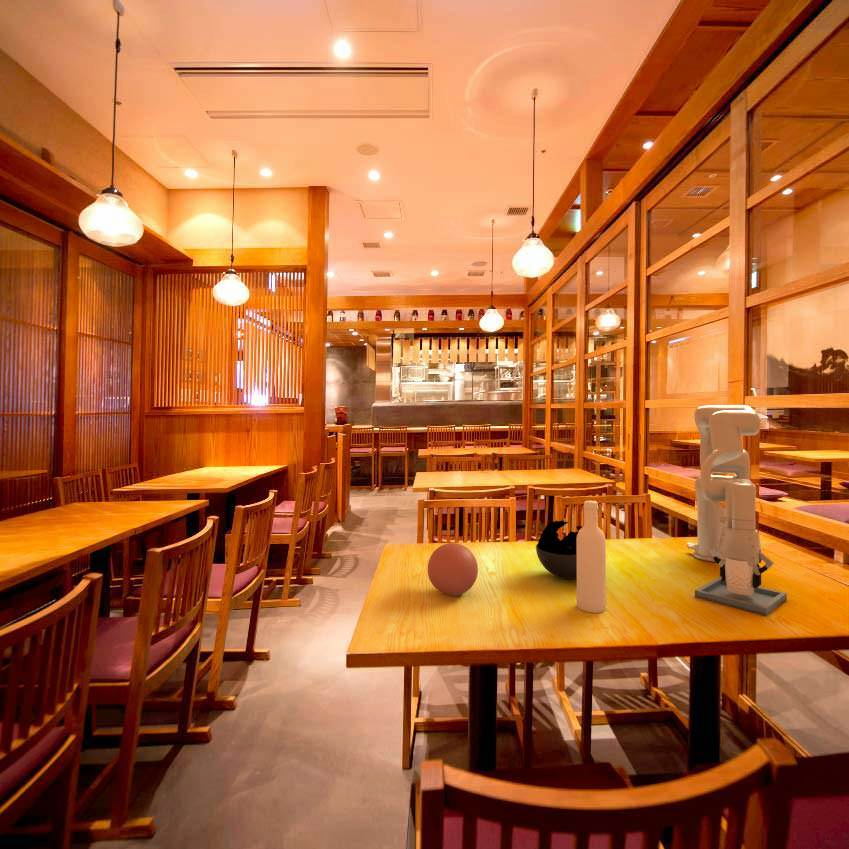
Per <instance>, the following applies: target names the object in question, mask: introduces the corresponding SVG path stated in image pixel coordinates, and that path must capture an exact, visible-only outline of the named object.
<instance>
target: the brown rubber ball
mask: <svg viewBox="0 0 849 849" xmlns="http://www.w3.org/2000/svg"><path fill="white" fill-rule="evenodd" d="M427 563H428V564H427V574H428V576H427V577H428V579H429V581H430V583H431V584H432V586H433V587H434V588H435V589H436V590H437V591H438V592H440V593H442V594H443V595H447V596H459V595H462V594H465V593H466V592H468V591H469V590H471V588H472V587H473V586H474V584H475V583H476V580H477V578H478V574H479V568H478V562H477V558H476V556H475V555H474V553H473V552H472V551H471V549H469V548H468V547H466V546H465V545H463V544H460V543H457V542H449V543H448V542H447V543H444V544H442V545H440V546H439V547H437V548H436V549H435V550H433V552H432V554H431V555H430V557H429V558H428V562H427Z"/></svg>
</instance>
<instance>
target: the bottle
mask: <svg viewBox="0 0 849 849" xmlns="http://www.w3.org/2000/svg"><path fill="white" fill-rule="evenodd" d="M598 509H599V505H598V502H597V501H596V500H585V501H584V502H583V524H584V525H583V526H581V527H582V528H581V529H580V530H579V531H577V532H578V534H577V578H576V607H577V608H578V609H579V610H581V611H582V612H583V611H584V612H585V613H586V612H587V613H591V614H592V613H593V614H595V613H596V614H598V613H603V612H605V611H606V609H607V560H606V559H607V554H606V552H607V548H606V547H607V546H606V544H607V543H606V542H607V540H606V539H607V538H606V537H605V534H604V531H603V530H602V529H601V528H600V527H599V526H598V523H599V522H598V521H599V520H598V518H599V517H598Z"/></svg>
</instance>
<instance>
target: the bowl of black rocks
mask: <svg viewBox="0 0 849 849" xmlns="http://www.w3.org/2000/svg"><path fill="white" fill-rule="evenodd" d="M567 524H569V521H564V520H554V521H551V522H550V523H547V525H546V526H545V527H544V529H543V531H542V533H541V534H540V537H539V539H538V541H537V544H536V545H535V551H536V555H537V559H538V560H539V562H540V564H541V565H542V566H543V567H544V569H545V570H546V571H547V572H549V573H550V574H551V575H553V576H555V577H558V578H561V579H567V580H570V579H571V580H572V579H577V534H578V532H579V530H580V529H581V528H582V527H583V526H581V525H577V526H576V530H577V531H569V532H568V534H567V535H565V536H564V537H562V539H560V538H559V533H558V531H559V530H560V529H561V528H562V527H564V526H565V525H567Z"/></svg>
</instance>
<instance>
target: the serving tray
mask: <svg viewBox="0 0 849 849" xmlns="http://www.w3.org/2000/svg"><path fill="white" fill-rule="evenodd" d="M787 594H788V593H787V592H784V591H783V592H782V591H779V590H775V589H774V590H773V589H769V588H766V587H762V586H761V587H760V586H759V587H758V588H754V594H752V595H740V594H735V593H732V592H730V591H728V590H727V583H726V580H725V581H722V580H721V577H717V578H715V579H713V580H711V581H709V582H707V583H706V584H703V585H702V586H700V587H699V588H696V589H694V597H695V598H696V599H701V600H704V601H708V602H712V603H716V604H720V605H724V606H726V607H731V608H735V609H739V610H742V611H746V612H749V613H754V614H758V615H761V616H766V617H767V616H769V615H770V614H771V613H772V612H774V611H775V610H777V608H779V607H780V606H781V605H783V604H784V603H785V602H786V601H787V599H788V596H787Z"/></svg>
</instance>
